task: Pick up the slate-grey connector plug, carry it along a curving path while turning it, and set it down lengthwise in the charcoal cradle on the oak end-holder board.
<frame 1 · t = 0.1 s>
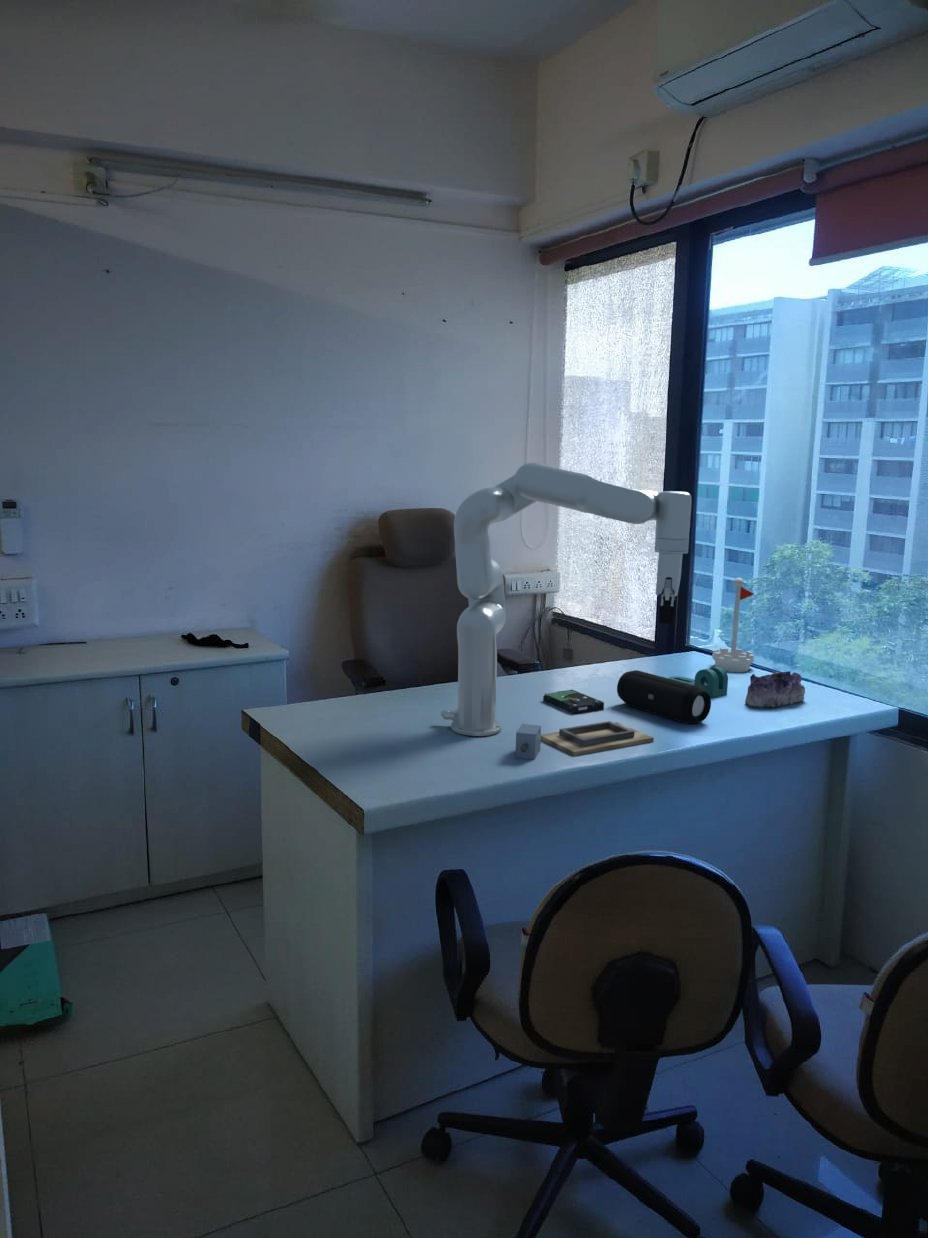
hand: (666, 619, 213), 31 cm above the table, fingers open, 9 cm apart
connector plug: (527, 753, 212), on the table
flag stand: (732, 668, 301), on the table
portable speaker: (661, 714, 247), on the table
end holder: (596, 740, 223), on the table
disk drive: (572, 707, 253), on the table
bracket: (694, 691, 273), on the table
geode: (773, 703, 261), on the table
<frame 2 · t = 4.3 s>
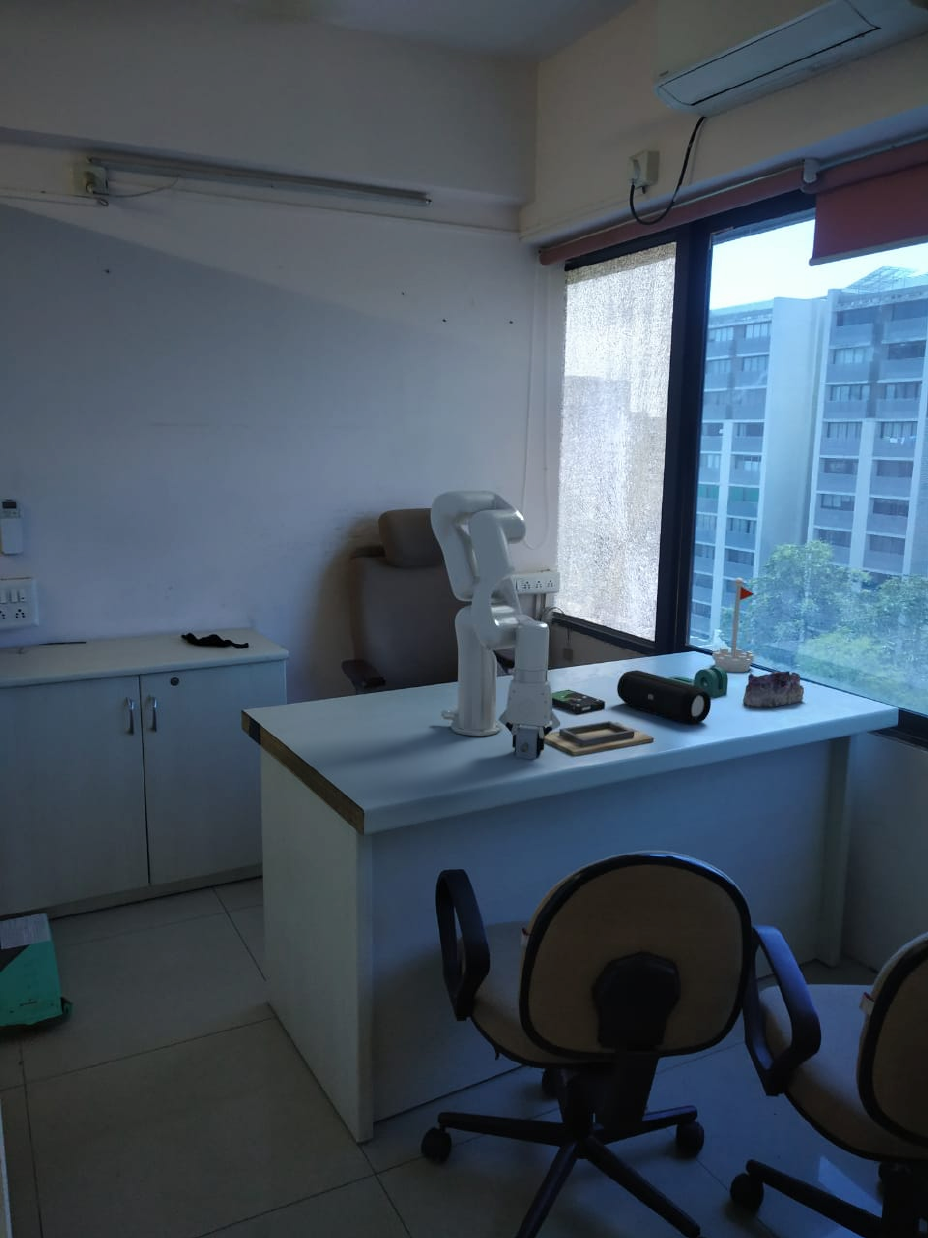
hand: (528, 751, 212), 1 cm above the table, fingers closed on connector plug, 4 cm apart
connector plug: (528, 753, 212), on the table, touching gripper
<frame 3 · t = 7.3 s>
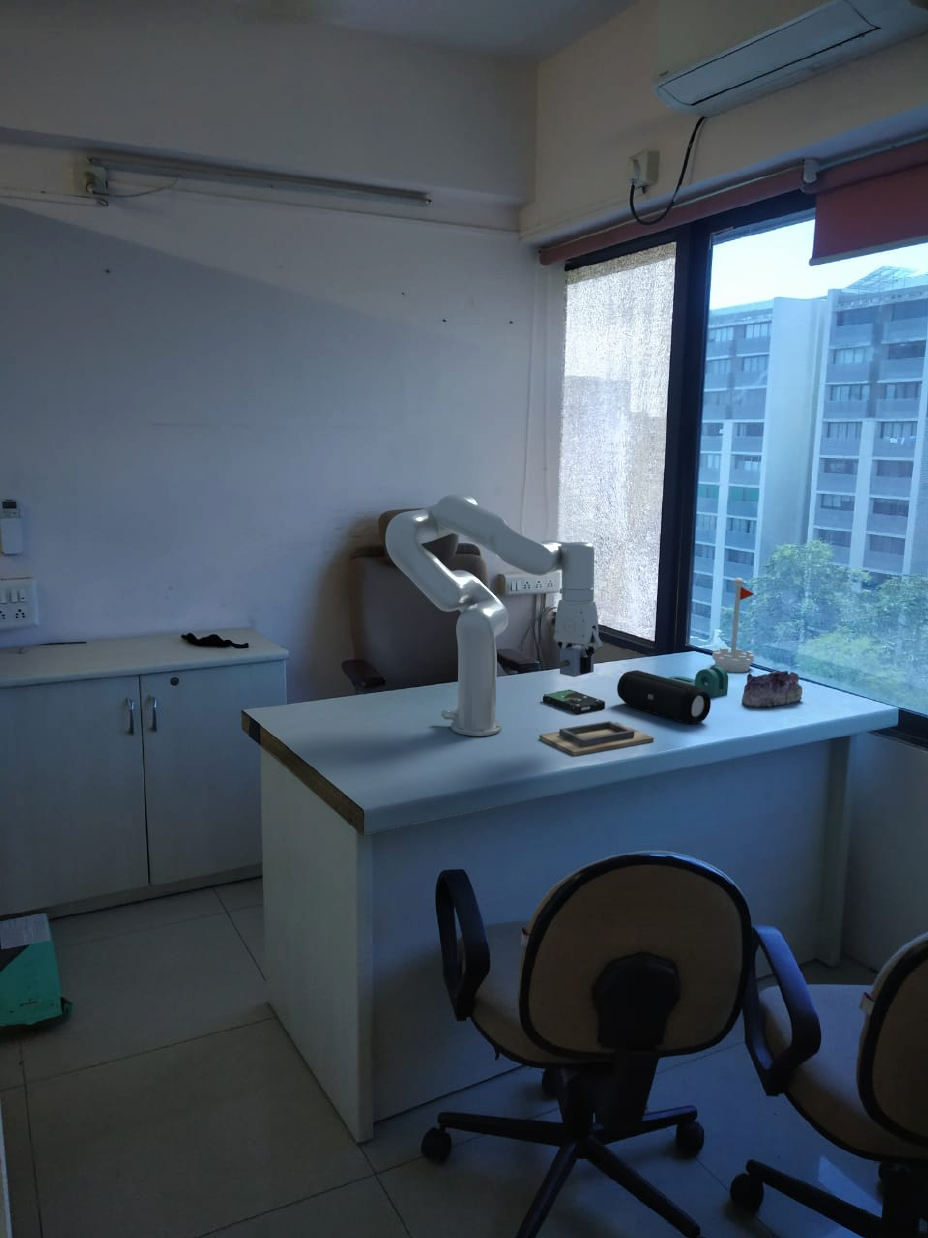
hand: (577, 670, 218), 18 cm above the table, fingers closed on connector plug, 4 cm apart
connector plug: (576, 673, 218), point 17 cm above the table, touching gripper
everything else where it was.
when the fingers open (3 cm above the table, at t = 10.4 s): connector plug drops 1 cm, resting on end holder.
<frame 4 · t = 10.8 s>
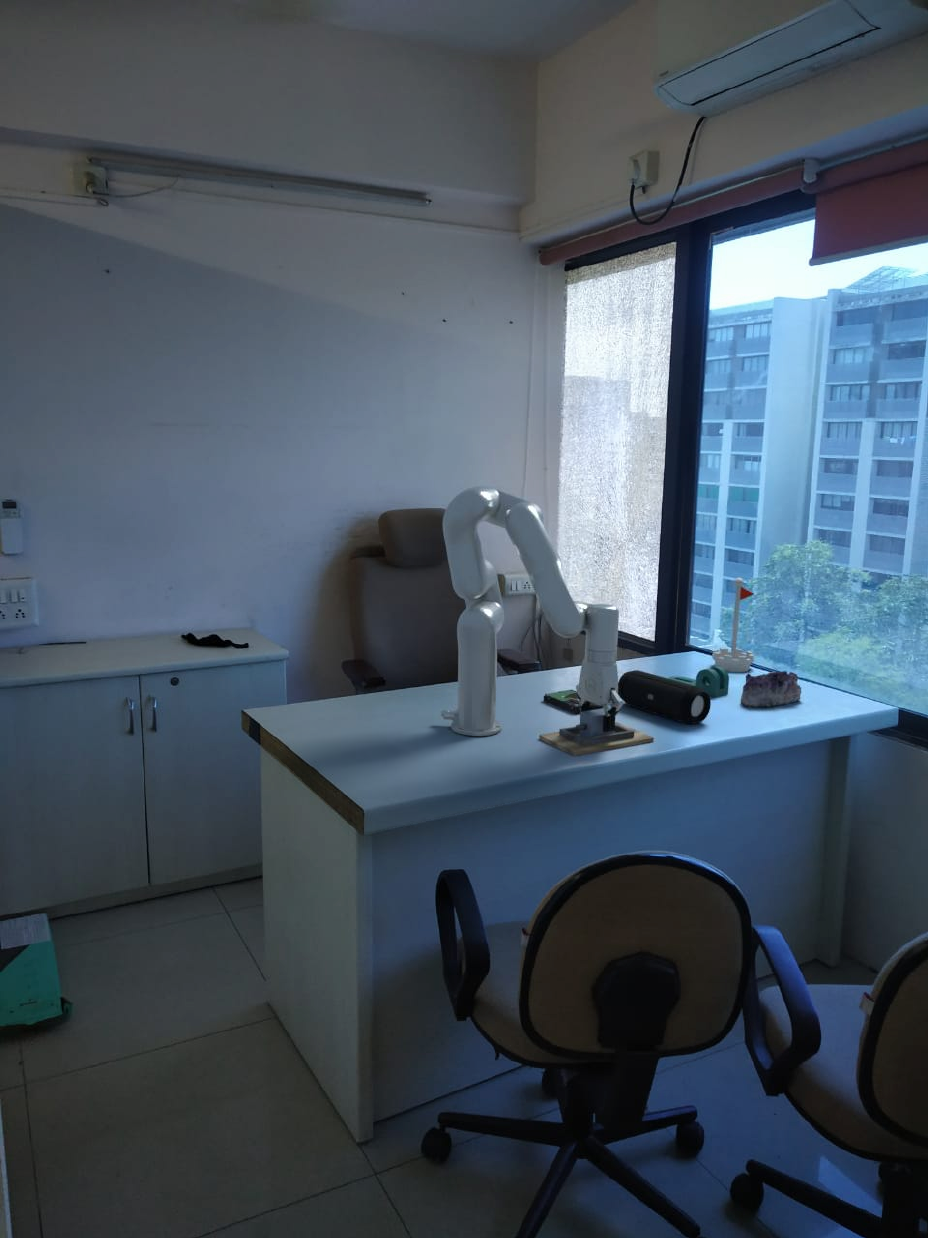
hand: (597, 725, 222), 4 cm above the table, fingers open, 8 cm apart
connector plug: (596, 736, 223), point 1 cm above the table, touching end holder
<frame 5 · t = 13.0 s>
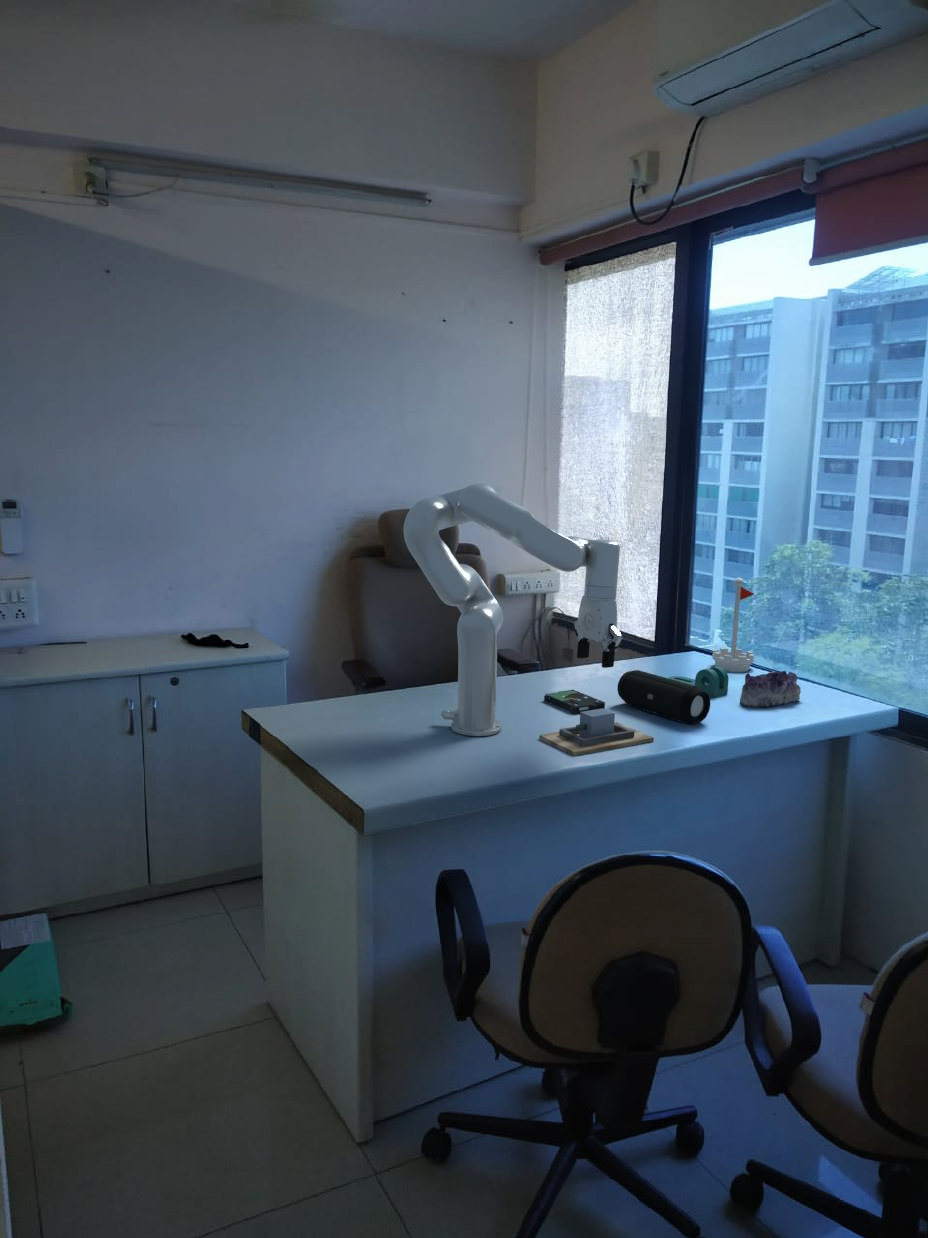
hand: (594, 662, 220), 19 cm above the table, fingers open, 9 cm apart
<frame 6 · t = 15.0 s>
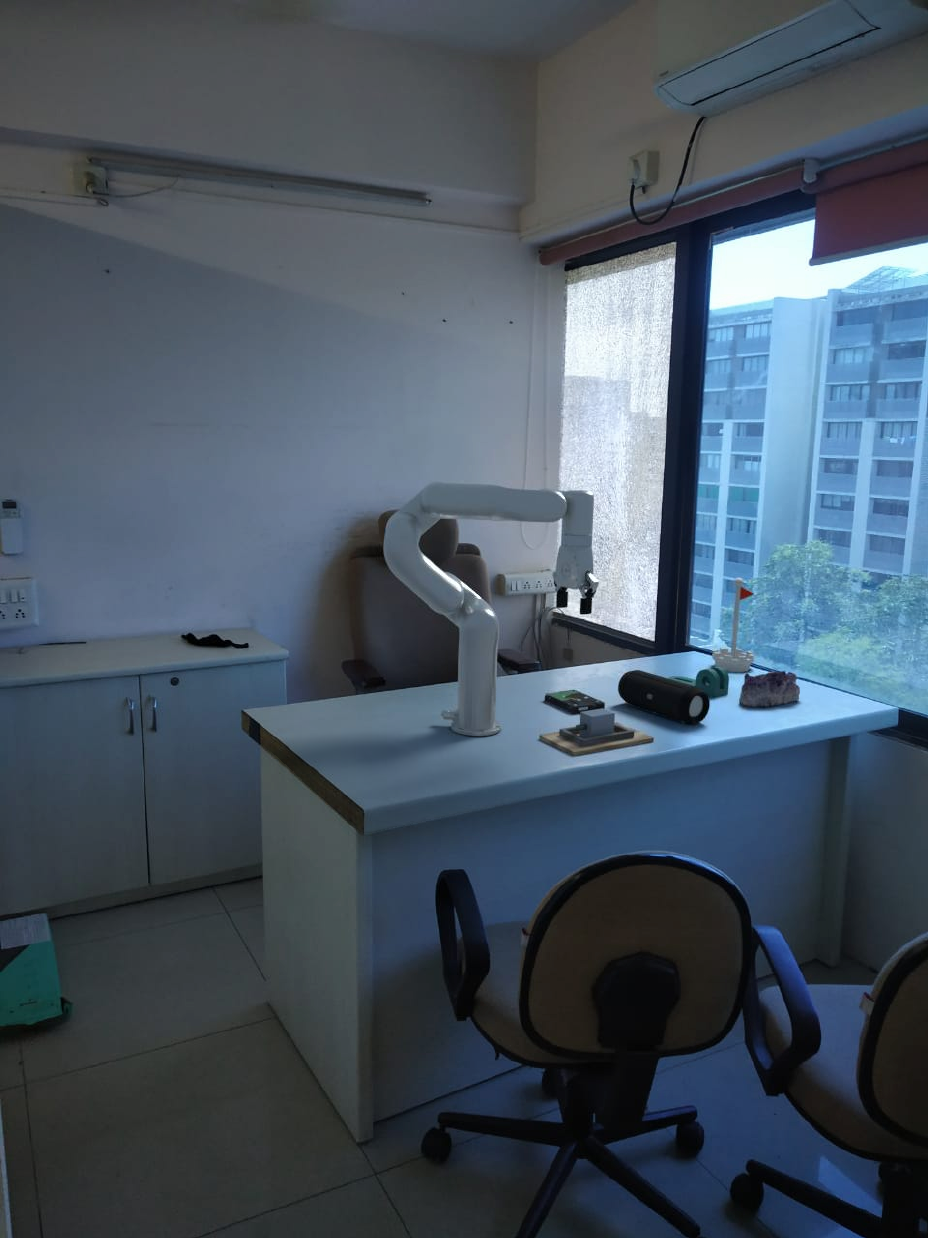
hand: (573, 610, 226), 30 cm above the table, fingers open, 9 cm apart
at the end: connector plug 0.1 cm off-centre on the end holder, point 1.0 cm above the end holder's base; connector plug tilted 0°; the gripper is holding nothing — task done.
